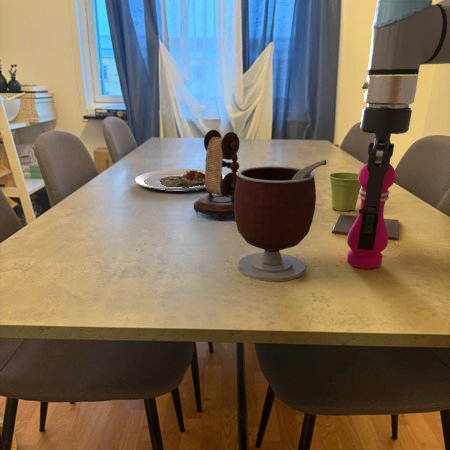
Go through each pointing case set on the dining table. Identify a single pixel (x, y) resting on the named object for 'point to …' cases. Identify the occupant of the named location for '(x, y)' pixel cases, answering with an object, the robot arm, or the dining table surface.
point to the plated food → (177, 179)
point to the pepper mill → (381, 240)
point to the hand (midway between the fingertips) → (367, 241)
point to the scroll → (219, 174)
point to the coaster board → (347, 221)
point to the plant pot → (344, 190)
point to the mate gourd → (274, 218)
